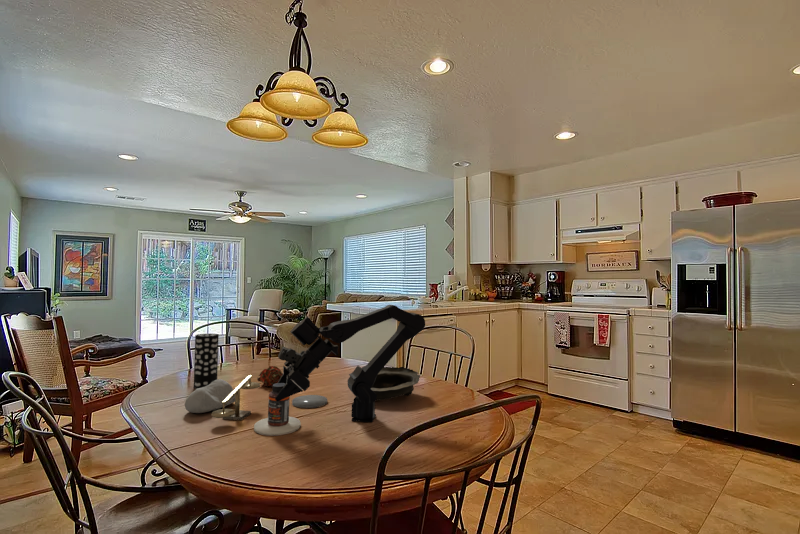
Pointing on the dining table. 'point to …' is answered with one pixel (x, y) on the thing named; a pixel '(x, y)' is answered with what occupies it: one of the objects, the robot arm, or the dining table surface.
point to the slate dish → (309, 401)
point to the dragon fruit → (270, 376)
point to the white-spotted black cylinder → (205, 359)
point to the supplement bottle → (278, 407)
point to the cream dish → (276, 427)
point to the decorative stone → (209, 397)
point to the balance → (236, 402)
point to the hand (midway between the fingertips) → (275, 395)
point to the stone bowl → (394, 382)
